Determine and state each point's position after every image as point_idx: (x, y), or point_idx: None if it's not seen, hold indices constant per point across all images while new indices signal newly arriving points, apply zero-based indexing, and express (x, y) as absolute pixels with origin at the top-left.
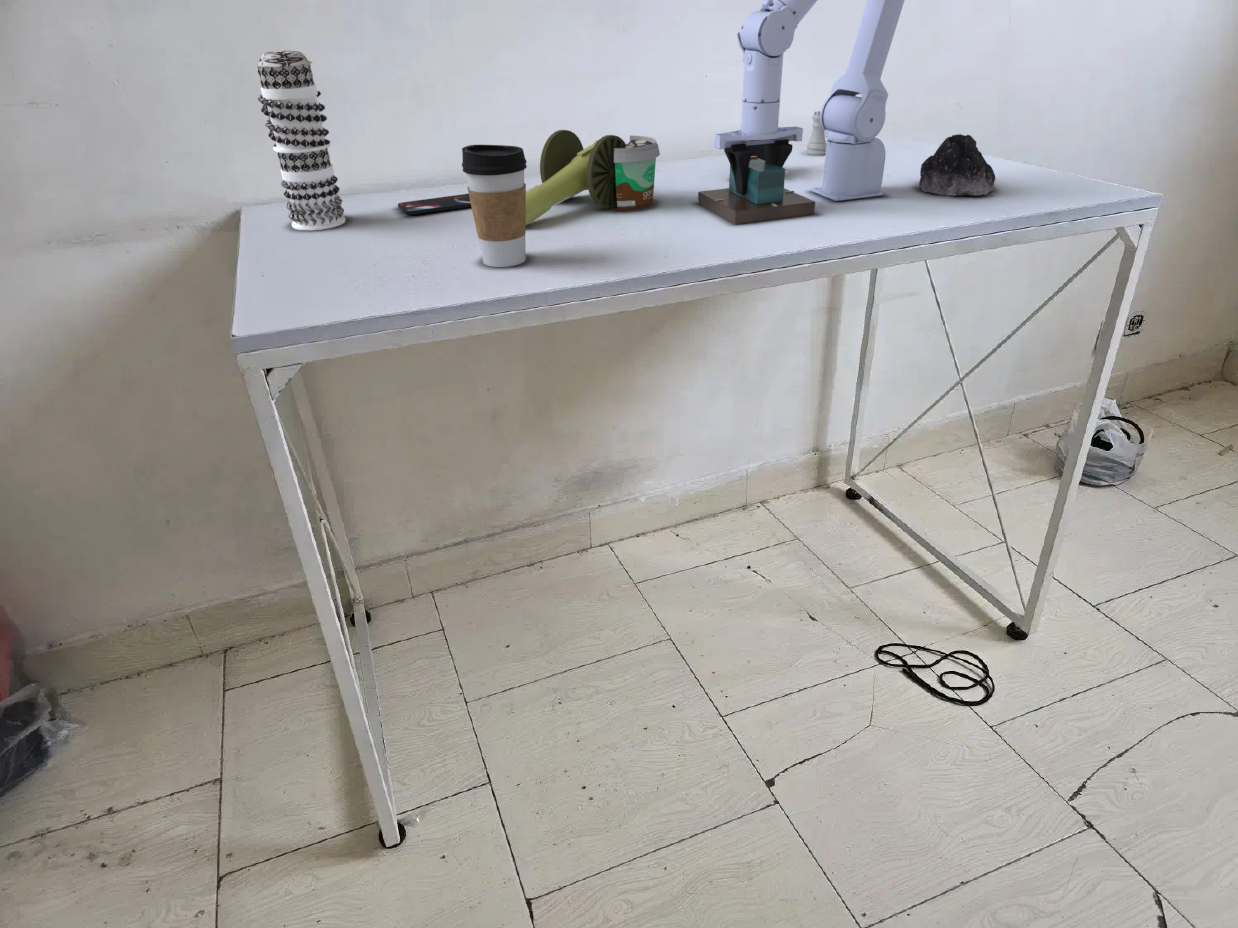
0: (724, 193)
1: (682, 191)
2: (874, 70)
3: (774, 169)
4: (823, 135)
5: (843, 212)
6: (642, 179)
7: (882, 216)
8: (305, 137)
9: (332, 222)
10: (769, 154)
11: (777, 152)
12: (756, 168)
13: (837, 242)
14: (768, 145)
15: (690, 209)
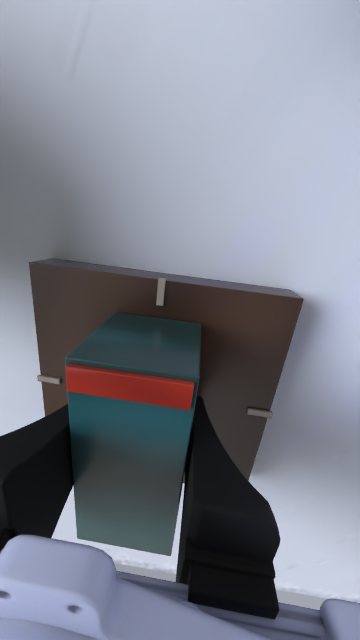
0: (92, 326)
1: (61, 54)
2: None
3: (133, 547)
4: None
5: (302, 484)
6: None
7: (337, 531)
8: None
9: None
10: (187, 502)
11: (177, 571)
12: (89, 511)
13: (163, 562)
14: (187, 536)
15: (17, 295)
